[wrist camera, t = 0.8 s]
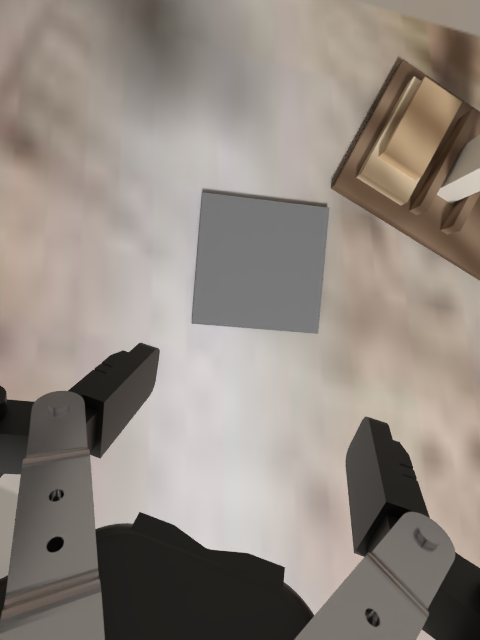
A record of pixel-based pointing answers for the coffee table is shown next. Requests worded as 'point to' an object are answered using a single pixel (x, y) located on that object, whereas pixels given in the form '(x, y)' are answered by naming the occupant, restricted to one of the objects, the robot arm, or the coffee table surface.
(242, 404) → the coffee table surface
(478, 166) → the block
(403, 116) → the rack
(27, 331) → the coffee table surface
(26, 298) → the coffee table surface
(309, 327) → the mat
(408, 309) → the coffee table surface
